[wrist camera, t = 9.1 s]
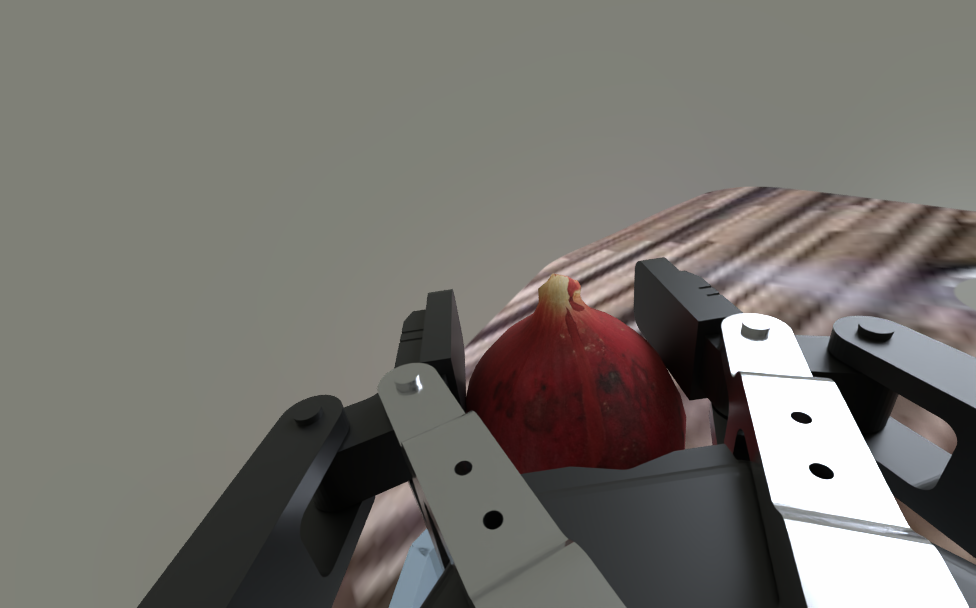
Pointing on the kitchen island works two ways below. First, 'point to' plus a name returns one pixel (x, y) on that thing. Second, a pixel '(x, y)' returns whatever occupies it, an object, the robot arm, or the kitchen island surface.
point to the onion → (576, 389)
